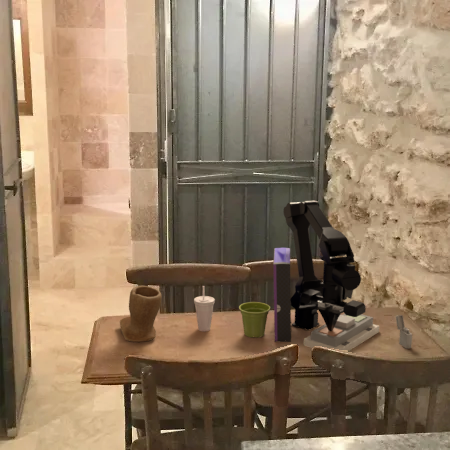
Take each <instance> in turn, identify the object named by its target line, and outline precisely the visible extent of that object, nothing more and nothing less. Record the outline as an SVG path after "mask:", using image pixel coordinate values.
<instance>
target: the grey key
mask: <svg viewBox="0 0 450 450" xmlns="http://www.w3.org/2000/svg"><path fill="white" fill-rule="evenodd" d="M354 325H355V318H351V317H347V316H343V314H340V316H339V318H338V320H337V322H336V324H335V326H336V327H339V328H343V329H346V330H347V329H349V328H350V327H352V326H354Z"/></svg>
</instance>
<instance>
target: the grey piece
mask: <svg viewBox="0 0 450 450" xmlns="http://www.w3.org/2000/svg"><path fill="white" fill-rule="evenodd" d="M342 315H343V316H347V315H345V313H342ZM360 316H364V317H366V319H364V320H362V321H361V322H359V323H357V322H355V325H354V326H352V327H350V328H349V329H347V330H346V329H343V328H339V327H336V326H334V328H336V329H340V330H343V332H342V333H340V334H338V335H337V336H335V337H333V336H330V335H327V334H323V333H320V332H319V331H320V330H322V329H323V328H325V327H327V326H326V324H325V323H323V324H322V325H321V326H319V327H317V328H316V329H313V330H312V331H310V335H308V336H307V337H305V338H303V346H305V347H308V348H311V349H313V348H312V347H314V346H322V347H327V348H334V349H339V350H349V351H351V350H352V348H353V349H354V348H356V347H358V346H359V345H361V344H362V343H363V342H366V341H367V340H369V339H370V338H372V337H373V336H375V335H376V334H378V333H379V332H380V325H378V324H374V317H373V316H370V315H365V314H364V313H363V314H361V315H360ZM349 351H348V352H349Z"/></svg>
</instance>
